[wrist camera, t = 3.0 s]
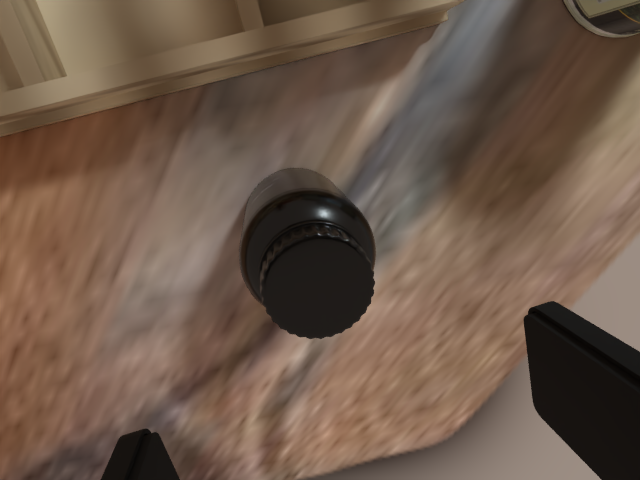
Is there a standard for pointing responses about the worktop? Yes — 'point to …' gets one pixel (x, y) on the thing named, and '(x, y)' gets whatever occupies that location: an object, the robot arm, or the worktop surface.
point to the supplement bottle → (307, 254)
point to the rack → (170, 46)
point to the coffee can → (607, 16)
